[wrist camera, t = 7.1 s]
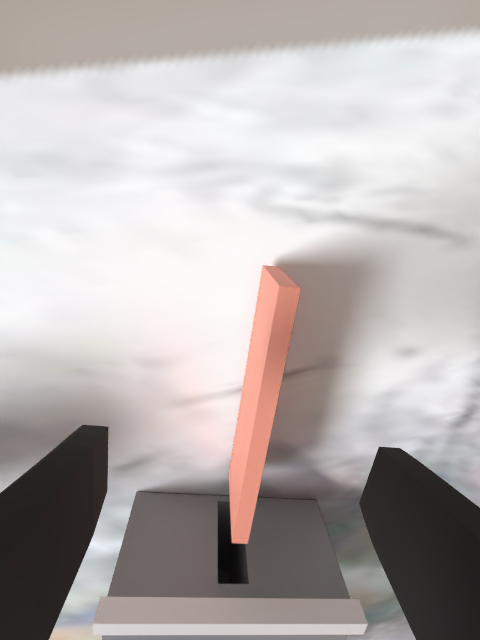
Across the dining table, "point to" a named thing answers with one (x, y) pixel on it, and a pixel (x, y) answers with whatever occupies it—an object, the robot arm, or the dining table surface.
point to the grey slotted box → (226, 574)
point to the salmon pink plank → (260, 394)
